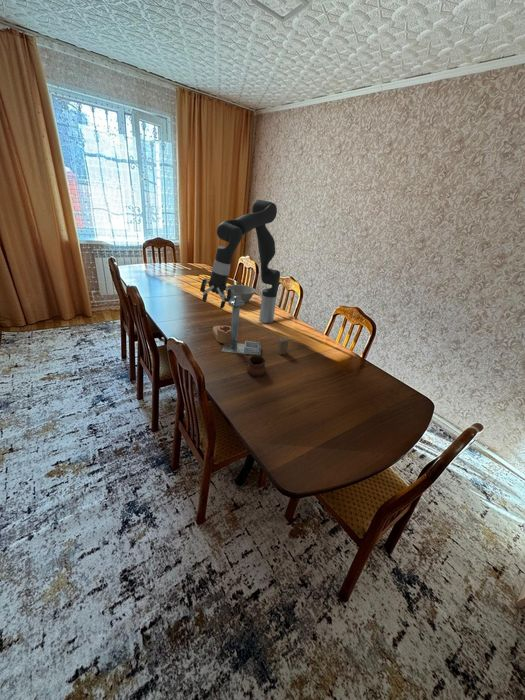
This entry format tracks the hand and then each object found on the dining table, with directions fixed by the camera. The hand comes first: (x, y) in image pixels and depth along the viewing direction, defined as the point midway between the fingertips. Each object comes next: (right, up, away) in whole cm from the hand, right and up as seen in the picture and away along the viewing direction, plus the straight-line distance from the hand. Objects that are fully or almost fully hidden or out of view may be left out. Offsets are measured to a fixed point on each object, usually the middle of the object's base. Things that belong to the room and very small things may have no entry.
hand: (212, 304), depth 133 cm
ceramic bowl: (+6, +15, +80) cm, 82 cm away
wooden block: (+33, -23, +17) cm, 44 cm away
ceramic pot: (+20, -32, -1) cm, 38 cm away
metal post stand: (+12, -21, +16) cm, 29 cm away
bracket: (+1, -14, +26) cm, 30 cm away
